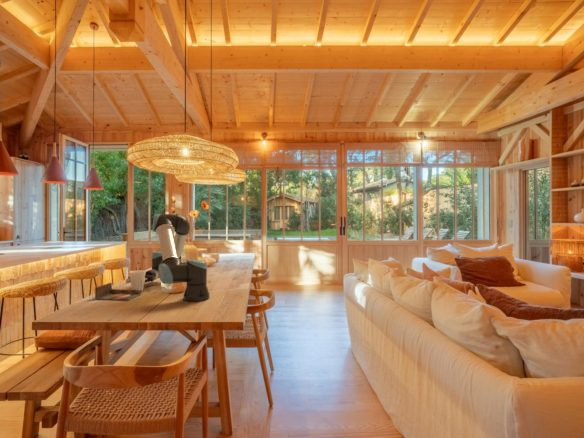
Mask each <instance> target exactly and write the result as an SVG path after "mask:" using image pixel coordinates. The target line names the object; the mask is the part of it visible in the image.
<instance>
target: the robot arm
mask: <svg viewBox="0 0 584 438" xmlns="http://www.w3.org/2000/svg"><path fill="white" fill-rule="evenodd" d="M151 229H152V232H153V233H155V234H156V235H157V237H158V238H159V243H160V244H159V245H160V251H153V252H152V254H151V269H149V270H145V271H146V275H145V279H142V280H141V284H144V285H145V284H146V283H150V282H151V283H153V282H154V281H155V280H157V279H159V280H160V282H161V283H162V284H164V285H167V284H168V285H172V284H179V283H180V284H182V283H186V287H185V290H184V293H183V296H182V297H183V301H187V302H203V301H207V300H209V299H210V293H209V289H208V286H207V284H208V283H207V281H208V280H207V276H208V274H207V272H208V267H207V266H208V265H207V262H206V261H205V260H199V259H186V262H183V263H182V262H181V255H182V254H183V250H184V246H185V242H186V239H187V237H188V236H187V235H188V234H190V230H191V225H190V223H189V220H188V219H187V218H186V217H185V216H184V215H183V214H179V213H178V214H177V213H176V214H175V213H156V214H154V215H153V219H152V228H151ZM174 233H175V235H174ZM125 284H126V285H128V284H131V280H130V276H128V277H127V278H126V279H125Z"/></svg>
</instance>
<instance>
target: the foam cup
mask: <svg viewBox="0 0 584 438" xmlns="http://www.w3.org/2000/svg"><path fill="white" fill-rule="evenodd" d="M146 271H147V270H142V269H138V270H137V269H136V270H131V271H129V277H130V280H131V283H130V287H131V290H141V293H142V292H143V291H144V288H145V287H144V285H145V283H144V284H141V280H142V279H145V275H146Z"/></svg>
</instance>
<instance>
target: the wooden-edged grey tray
mask: <svg viewBox="0 0 584 438" xmlns="http://www.w3.org/2000/svg"><path fill="white" fill-rule="evenodd" d="M112 284H113V283H112V282H109V283H105V284H102V285H99V286H97V287H94V290H95V291H94V293H95V294H94V300H97V301H125V302H126V301H131V300H133V299H135V298H137V297H139V296H141V295H142V292H141V290H132V289H117V288H112V287H113V285H112Z"/></svg>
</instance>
